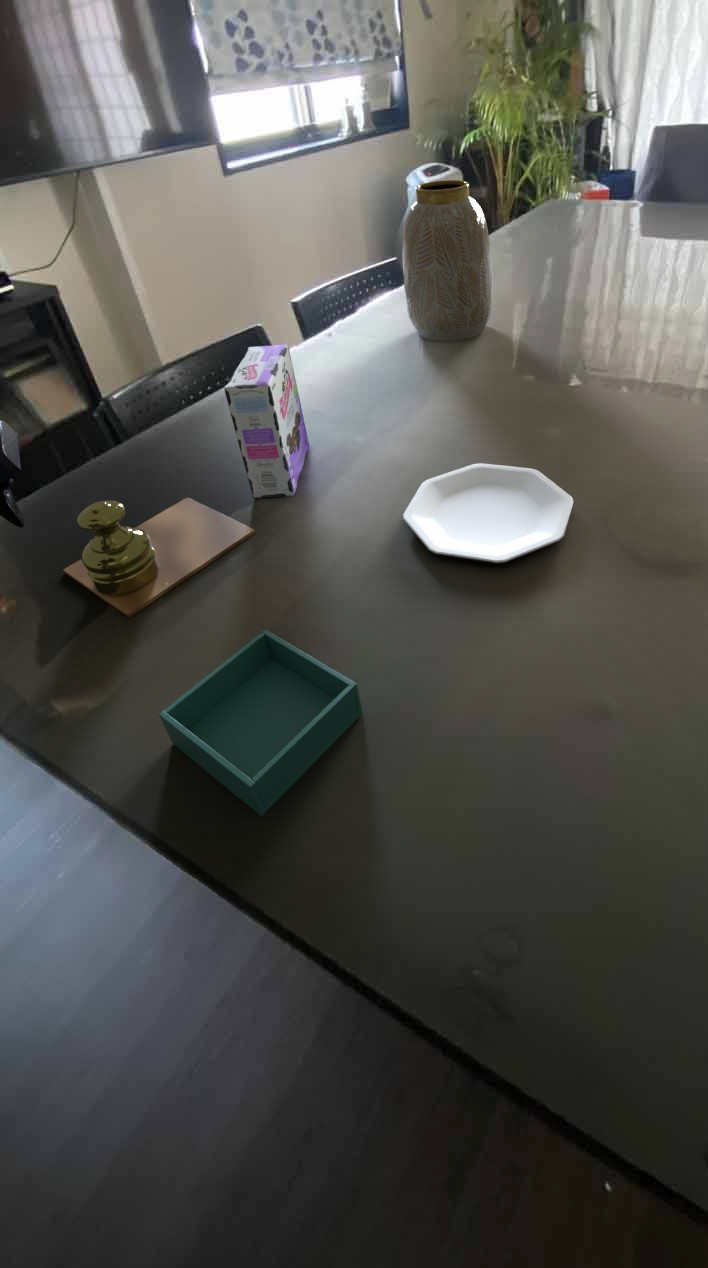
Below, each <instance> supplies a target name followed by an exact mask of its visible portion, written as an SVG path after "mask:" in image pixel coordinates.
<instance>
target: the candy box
mask: <svg viewBox="0 0 708 1268" xmlns="http://www.w3.org/2000/svg"><path fill="white" fill-rule="evenodd" d="M224 394H225V398H226V402H227V405H228V409H229V413H230V417H231V421H232V424H233V428H234V432H235V436H236V439H237V443H238V447H239V450H240V454H241V457H242V462H243V465H244V469H245V474H246V477H247V481H248V484H249V488H250V492H251V496H252V498H253V499H255V498H279V497H280V498H281V497H293V496H294V495H295V493H296V490H297V488H298V484H299V482H300V478H301V474H302V471H303V468H304V464H305V462H306V458H307V455H308V452H309V449H310V442H309V438H308V432H307V428H306V422H305V418H304V417H305V416H304V413H303V409H302V404H301V398H300V395H299V394H300V393H299V389H298V384H297V379H296V375H295V371H294V366H293V361H292V356H291V352H290V347H289V344H288V343H286V344H274V345H259V346H249V347H247V351H246V353H245V354H244V356H243V358H242V359H241V361H240V362H239V364H238V365H237V367H236V368H235V370H234V372H233V373H232V376H231V377H230V378H229V381H228V382H227V384H226V385H225V386H224Z"/></svg>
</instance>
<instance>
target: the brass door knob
mask: <svg viewBox="0 0 708 1268" xmlns="http://www.w3.org/2000/svg"><path fill="white" fill-rule="evenodd" d="M125 514H126V506H125V505H124V504H123V503H122V502H120V501H117V500H102V501H95V502H93V503H92V504H90V505H88V506H87V507H86V508H84V509H83V510H82V511H81V512H80V513H79V514H78V515H77V517H76V523H77V525H78V526H79V528H80V529H82V530H85V531H89V532H90V531H91V532H93V533H94V534H93V536H92V537H91V539H90V540H89V541H88V542H87V543H86V544H85V546H84V547H83V549H82V551H81V555H80V560H82V563H83V565H84V566H85V567H86V568H87V569H88V575H89V577H90V578H91V580H92V582H93V584H94V586H95V588H96V590H98V591H99V592H101V593H103V594H107V595H121V594H126V593H130V592H133V591H135V590H137V589H139V588H141V587H143V586H145V585H146V584H147V583H149V582H150V581H151V580H152V579H153V578H154V577H155V575H156V574H157V572H158V569H159V562H158V560H157V557H156V555H155V550H154V549H153V547H151V542H150V538H149V536H148V534H147V533H146V532H145V531H143V530H141V529H139V528H136V527H135V526H128V525H121V524H120V521H121V520H122V519H123V518H124V516H125Z"/></svg>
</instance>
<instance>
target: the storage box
mask: <svg viewBox="0 0 708 1268" xmlns="http://www.w3.org/2000/svg"><path fill="white" fill-rule="evenodd" d="M363 713H364V712H363V707H362V702H361V698H360V694H359V688H358V684H357V683H356V682H355V681H353V680H351V679H350V678H348V677H346V676H345V675H344V674H343V675H342V673H339V672H338V671H336V670H335V669H333V668H331V667H329V666H328V665H326V664H324V663H322V662H321V661H319V660H317V659H316V658H314V657H313V656H311V655H309V654H307V653H306V652H304V651H303V650H302V649H299V648H297V647H296V646H294V645H292V644H291V643H289V642H287V641H286V640H284V639H282V638H281V637H279V636H277V635H276V634H275V633H272V632H270V631H269V630H267V629H264V630H262V631H261V632H260V633H259V634H257V635H256V636H255V637H253V639H251V640H250V641H249V642H247V643H246V644H244V645H243V646H242V647H241V648H240V649H239V650H238V651H236V652H235V653H233V654H232V655H231V656H230V657H229V658H227V659H226V660H225V661H223V662H222V663H221V664H220V665H218V666H217V667H216V668H215V669H213V670H212V671H211V672H210V673H209V674H207V675H206V676H205V677H204V678H202V679H201V680H200V681H199V682H197V683H196V684H195V685H193V686H192V687H190V689H189V690H188V691H186V692H185V693H184V694H182V695H181V696H180V697H179V698H177V699H176V700H175V701H173V702H172V703H170V705H168V706H167V707H166V708H165V709H164V710H162V711H161V712H160V713H159V714H158V716H159V718H160V720H161V723H162V725H163V726H164V728H165V731H166V733H167V735H168V737H169V739H170V742H171V743H172V744H173V746H175V747H176V748H178V749H179V751H181V752H182V753H183V754H185V755H186V756H187V757H188V758H189V759H191V760H192V761H193V762H195V763H196V765H198V766H200V767H201V768H202V769H203V770H204V771H206V772H207V773H208V774H209V775H210V776H211V777H213V778H214V779H215V780H216V781H217V782H219V783H220V784H221V785H222V786H224V787H225V788H226V789H228V790H229V791H230V792H231V793H232V794H233V795H235V796H236V797H237V798H238V799H239V800H241V801H242V802H243V803H244V804H246V805H247V807H249V808H251V810H253V811H254V812H255V813H256V814H258V815H259V816H260V817H263V816H264V815H265V814H266V813H267V812H268V811H269V810H270V809H271V808H272V807H273V806H274V805H275V804H276V803H277V801H279V799H281V797H282V796H283V795H284V794H285V793H286V792H287V791H288V790H289V789H290V788H292V786H293V785H294V784H295V783H296V782H298V780H299V779H300V778H301V777H302V776H303V775H304V774H305V773H306V772H307V771H308V770H309V769H310V767H312V766H313V765H314V764H315V763H316V762H317V761H318V760H319V758H321V756H323V755H324V754H325V753H326V751H328V750H329V748H330V747H331V746H332V745H333V744H335V743H336V741H337V740H338V739H339V738H340V737H341V736H342V735H343V734H344V733H345V732H347V730H349V728H350V727H351V726H352V725H353V724H354V723H355V722H356V721H357V720H358V719H359V718H360V717H361V716H362V715H363Z"/></svg>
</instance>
